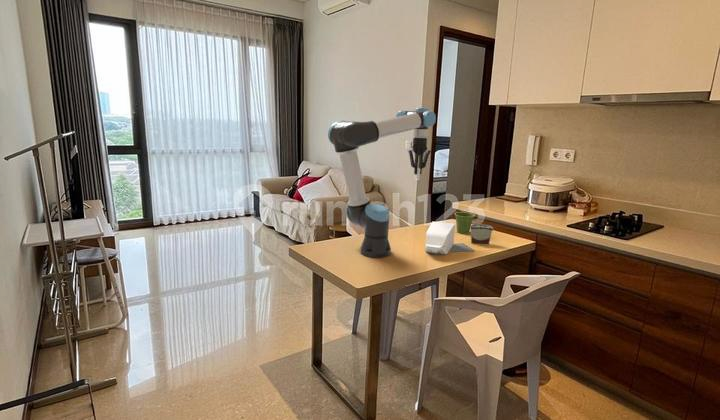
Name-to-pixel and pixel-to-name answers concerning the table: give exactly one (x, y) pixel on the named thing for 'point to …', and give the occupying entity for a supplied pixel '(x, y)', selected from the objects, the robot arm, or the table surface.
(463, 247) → the mat
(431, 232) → the milk
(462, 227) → the plant pot
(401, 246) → the table surface
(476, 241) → the food container
